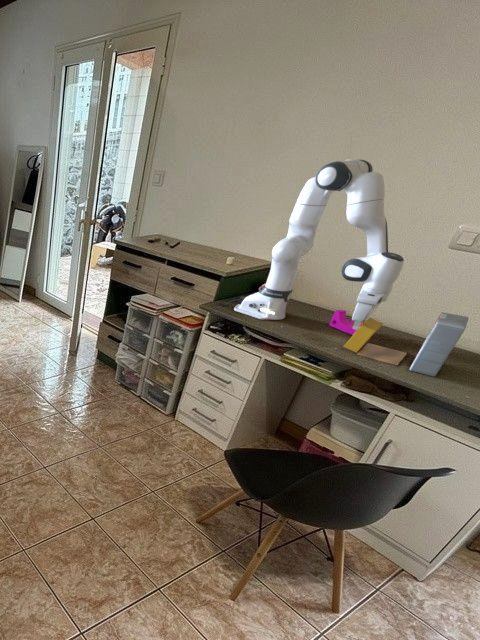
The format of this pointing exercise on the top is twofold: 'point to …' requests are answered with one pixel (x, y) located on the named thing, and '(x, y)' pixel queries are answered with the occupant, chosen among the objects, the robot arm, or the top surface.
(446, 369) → the top surface
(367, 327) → the yellow block
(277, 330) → the top surface
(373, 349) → the cork pad
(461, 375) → the top surface
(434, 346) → the hard drive box
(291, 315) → the top surface
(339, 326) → the magenta u-shaped bracket
